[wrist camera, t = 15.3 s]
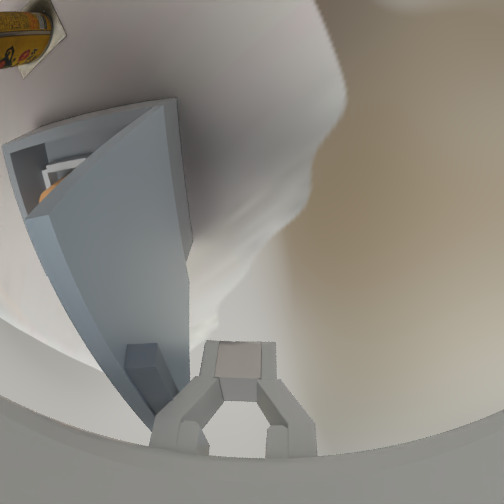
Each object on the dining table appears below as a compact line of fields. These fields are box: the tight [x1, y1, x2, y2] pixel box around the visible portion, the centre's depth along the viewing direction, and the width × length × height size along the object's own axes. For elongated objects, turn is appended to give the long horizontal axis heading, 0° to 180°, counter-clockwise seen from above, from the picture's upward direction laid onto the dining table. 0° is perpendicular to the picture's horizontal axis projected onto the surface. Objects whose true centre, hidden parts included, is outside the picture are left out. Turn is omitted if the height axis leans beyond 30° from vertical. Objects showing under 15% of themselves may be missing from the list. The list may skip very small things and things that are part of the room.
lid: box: [24, 105, 190, 432], centre depth 15 cm, size 16×15×2 cm
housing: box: [2, 97, 193, 276], centre depth 24 cm, size 16×15×6 cm
